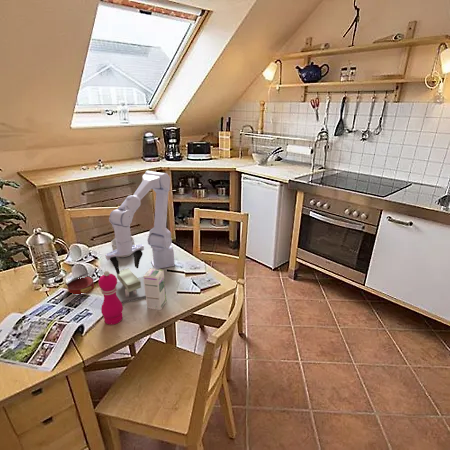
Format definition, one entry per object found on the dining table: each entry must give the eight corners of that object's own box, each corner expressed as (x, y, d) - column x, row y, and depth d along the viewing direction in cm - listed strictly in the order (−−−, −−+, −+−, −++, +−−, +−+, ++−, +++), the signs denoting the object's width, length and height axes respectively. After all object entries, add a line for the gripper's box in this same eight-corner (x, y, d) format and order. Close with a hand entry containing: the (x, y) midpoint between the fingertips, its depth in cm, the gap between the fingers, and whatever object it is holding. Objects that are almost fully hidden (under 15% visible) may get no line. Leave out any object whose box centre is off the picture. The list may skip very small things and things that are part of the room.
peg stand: (148, 277, 137) (147, 269, 136) (155, 295, 126) (155, 286, 124) (105, 286, 130) (103, 278, 129) (108, 306, 119) (107, 297, 117)
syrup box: (161, 310, 117) (158, 277, 111) (146, 308, 118) (143, 275, 112) (166, 301, 122) (164, 269, 116) (152, 299, 123) (149, 267, 117)
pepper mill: (106, 312, 115) (98, 266, 107) (126, 312, 116) (119, 265, 108) (100, 326, 109) (91, 277, 101) (121, 325, 109) (114, 276, 101)
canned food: (74, 304, 127) (56, 289, 121) (78, 288, 135) (62, 273, 130) (98, 291, 126) (82, 275, 121) (101, 276, 135) (85, 260, 129)
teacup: (132, 260, 151) (130, 245, 148) (109, 259, 151) (107, 244, 148) (139, 246, 164) (138, 232, 161) (119, 246, 164) (117, 232, 161)
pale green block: (141, 287, 123) (140, 281, 122) (128, 292, 121) (128, 285, 119) (129, 274, 132) (128, 268, 131) (117, 278, 129) (116, 272, 128)
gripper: (137, 231, 127) (140, 260, 132) (101, 240, 119) (106, 271, 124) (144, 237, 121) (147, 267, 127) (106, 247, 113) (111, 279, 119)
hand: (127, 270), depth 125 cm, fingers open, 7 cm apart
